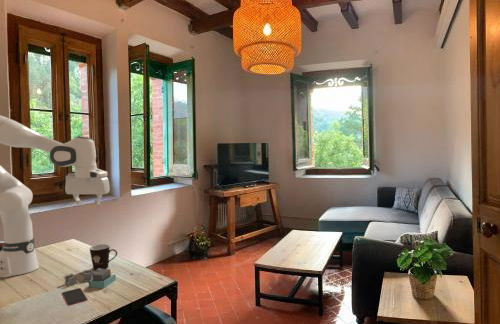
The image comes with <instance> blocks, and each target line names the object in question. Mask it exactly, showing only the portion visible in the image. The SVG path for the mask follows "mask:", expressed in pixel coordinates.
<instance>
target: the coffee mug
mask: <svg viewBox="0 0 500 324" xmlns="http://www.w3.org/2000/svg"><path fill="white" fill-rule="evenodd" d="M110 247H111V246H110V244H107V243H102V244H95V245H92V246H90V247H89V253H90V257H91V262H92V263H91V265H92V268H93V270H94V272H97V271H96V269H98V268H100V269H109V265H110V264H109V263H110V262H111V261H112V260H114V259H115V258H116V257H117V255H118V252H117V250H116V249H113V248H112V249H111V248H110ZM112 251H113V252H115V255H114V256H113V257H112V258H110V253H111V252H112Z"/></svg>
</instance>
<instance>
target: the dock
mask: <svg viewBox="0 0 500 324" xmlns="http://www.w3.org/2000/svg"><path fill="white" fill-rule="evenodd" d="M115 281H117V278H116V274H115V273H114V274H111V277H109V278H108V279H106V280H105V281H93V279H91V280H88V287H89V288H92V289H93V288H97V289H105V288H107V286H109V285H111V284H112V283H113V282H115Z"/></svg>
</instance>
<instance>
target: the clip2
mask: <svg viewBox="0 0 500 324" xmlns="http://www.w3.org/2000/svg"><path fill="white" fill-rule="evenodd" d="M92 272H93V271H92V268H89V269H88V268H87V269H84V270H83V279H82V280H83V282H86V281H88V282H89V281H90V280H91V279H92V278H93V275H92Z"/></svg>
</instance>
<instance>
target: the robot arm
mask: <svg viewBox="0 0 500 324" xmlns="http://www.w3.org/2000/svg"><path fill="white" fill-rule="evenodd" d="M0 144H1V145H3V146H4V145H5V146H8V147H12V148H22V149H23V148H28V149H29V148H30V149H38V150H41V151H44V152H45V153H49V160H50V162H51V163H52V164H53V165H54V166H56V167H59V168H60V167H61V168H66V167H71V166H72V167H74V173H67V175H65V186H64V189H65V190H64V191H65V194H66V195H72V197H73V199H74V200H75V204H76V205H81V204H82V199H81V198H80V195H96V197H97V198H96V200H94V205H101V199H102V197H103V195H107V194H109V193H110V191H111V188H110V187H111V186H110V181H109V178H108V171H106V170H103V169H100V168H98V166H97V165H98V164H97V162H96V159H97V151H96V146H95V141H94V140H93V139H92V138H91V137H88V136H74V138H73V139H70V140H69V141H67V142H65V143H63V142H61V141H58V140H55V139H53V138H50V137H48V136H46V135H43V134H41V133H39V132H37V131H35V130H33V129H31V128H29V127H28V126H26V125H24V124H22V123H20V122H18V121H17V120H14V119H11V118H10V117H6V116H4V115H0ZM33 196H34V195H33V191H32V189H30V188H29V187H27V185H25V184H23V183H22V181H20V180H18V179H17V178H16V177H15V176H14V175H12V174H11V173H9V172H8V170H6V169H5V168H4V167H3V166H2V165H1V164H0V218H1V222H2V225H3V226H2V227H3V237H4V242H1V243H0V247H2V248H1V250H0V278H5V279H6V278H8V277H13V276H19V275H23V274H28V273H31V272H33V271H36V270H38V269H39V268H40V264H39V263H40V262H39V260H38V258H37V257H38V256H37V252H36V248H35V244H36V242H35V238H34V232H33V231H34V230H33V221H32V219H31V216H30V211H29V206H30V204H31V203H32V202H33V198H34V197H33Z"/></svg>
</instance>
